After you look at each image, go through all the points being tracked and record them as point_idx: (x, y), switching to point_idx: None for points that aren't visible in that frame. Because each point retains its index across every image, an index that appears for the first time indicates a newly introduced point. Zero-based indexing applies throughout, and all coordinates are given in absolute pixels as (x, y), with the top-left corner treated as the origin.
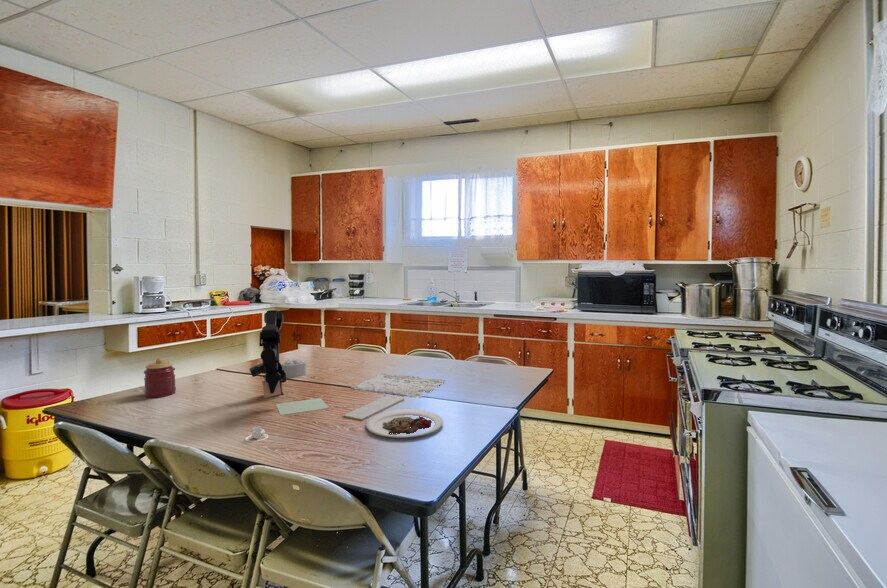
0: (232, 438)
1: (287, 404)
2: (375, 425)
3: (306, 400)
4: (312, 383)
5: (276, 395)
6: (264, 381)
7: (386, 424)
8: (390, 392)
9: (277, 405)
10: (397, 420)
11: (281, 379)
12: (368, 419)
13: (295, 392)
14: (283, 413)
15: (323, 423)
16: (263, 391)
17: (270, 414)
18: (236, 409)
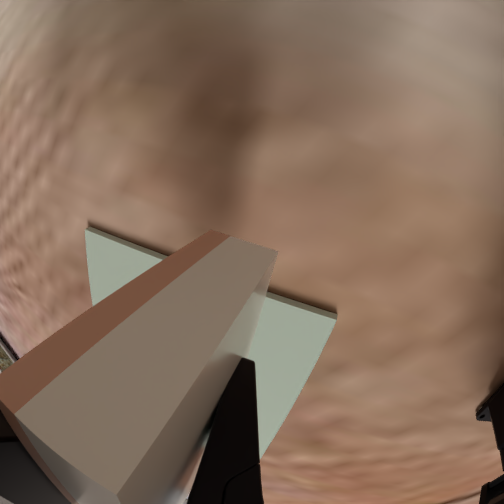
0: (8, 6)
1: (263, 362)
2: (6, 348)
3: (263, 436)
4: (469, 492)
5: (500, 389)
6: (28, 444)
7: (2, 355)
8: (186, 502)
9: (291, 312)
10: (3, 370)
11: (494, 499)
12: (10, 358)
13: (454, 453)
14: (99, 254)
15: (12, 297)
16: (175, 269)
17: (141, 188)
18: (464, 19)
